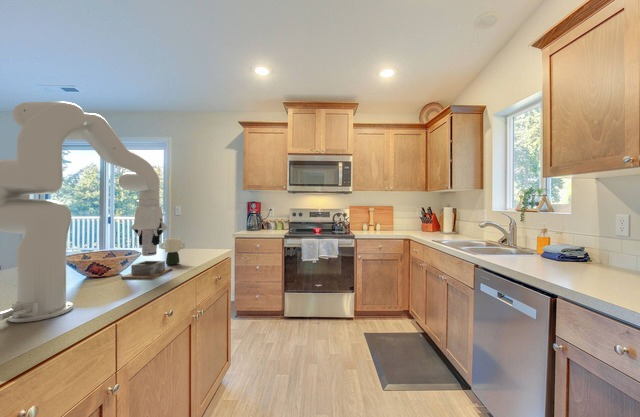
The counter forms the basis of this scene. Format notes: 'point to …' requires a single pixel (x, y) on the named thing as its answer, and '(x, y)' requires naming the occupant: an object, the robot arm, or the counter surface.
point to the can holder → (147, 270)
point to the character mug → (172, 250)
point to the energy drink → (148, 243)
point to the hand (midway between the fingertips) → (149, 244)
